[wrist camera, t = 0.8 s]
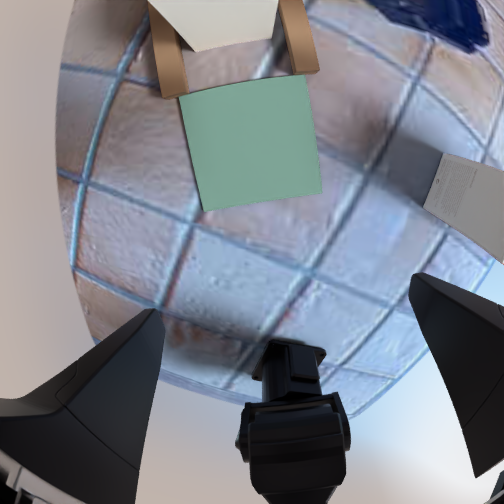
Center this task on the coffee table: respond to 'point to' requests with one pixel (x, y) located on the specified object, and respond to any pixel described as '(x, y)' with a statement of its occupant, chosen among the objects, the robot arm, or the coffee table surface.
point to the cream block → (219, 20)
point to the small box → (470, 201)
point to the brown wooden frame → (172, 59)
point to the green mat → (252, 142)
